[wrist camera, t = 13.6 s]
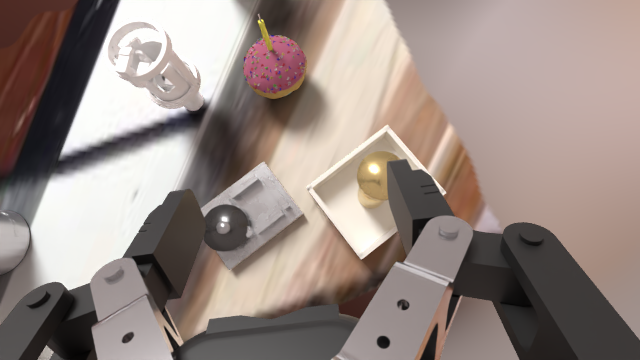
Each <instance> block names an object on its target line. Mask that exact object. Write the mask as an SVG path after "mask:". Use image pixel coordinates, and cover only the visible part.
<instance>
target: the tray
mask: <svg viewBox="0 0 640 360" xmlns="http://www.w3.org/2000/svg"><path fill="white" fill-rule="evenodd" d="M377 151H386V152H390V153H393V154H395V155H396V156H398V157H399V158H400V159H407V161H408V163H409V165H410V167H411V169H412V170H419V169H422V170H423V171H425V172H426V173H428V174H429V175H431V174H430V173H429V172H428V171H427V170H426V169H425V168H424V166H423V165H422V164H421V163H420V162H419V161H418V159H417V158H416V157H415V156H414V155H413V154H412V153H411V151H410V150H409V149H408V148H407V147H406V146H405V145H404V143H403V142H402V141H401V140H400V139H399V138H398V137H397V135H396V134H395V133H394V132H393V131H392V130H391V128H390V127H389V126H388V125H386V126H385V127H383V128H382V129H381V130H380V131H378V132H377V133H376V134H374V135H373V136H372V137H370V138H369V139H368V140H366V141H365V142H364V143H363V144H361V145H360V146H359V147H357V148H356V149H355V150H353V151H352V152H351V153H349V154H348V155H347V156H346V157H344V158H343V159H342V160H340V161H339V162H338V163H336V164H335V165H334V166H332V167H331V168H330V169H329V170H327V171H326V172H325V173H323V174H322V175H321V176H319V177H318V178H317V179H315V180H314V181H313V182H312V183H310V184H309V185H308V186H306V188H307V190H308V191H309V192H310V194H311V195H312V196H313V198H314V199H315V200H316V202H317V203H318V204H319V206H320V207H321V208H322V209H323V211H324V212H325V213H326V215H327V216H328V217H329V219H330V220H331V221H332V222H333V224H334V225H335V226H336V228H337V229H338V230H339V232H340V233H341V234H342V236H343V237H344V238H345V239H346V241H347V242H348V243H349V245H350V246H351V247H352V249H353V250H354V251H355V252H356V254H357V255H358V256H359V258H360V259H361V260H362V259H363V258H364V257H365V256H367V255H368V254H369V253H371V252H372V251H373V250H374V249H376V248H377V247H378V246H379V245H381V244H382V243H383V242H384V241H386V240H387V239H388V238H390V237H391V236H392V235H393V234H395V233H396V232H397V231H398V229H397V226H396V223H395V220H394V218H393V215H392V212H391V209H390V205H389V200H386V201H384V202H383V203H382V204H381V205H380V206H379V207H377V208H373V209H370V208H366V207H364V206H363V205H362V204H361V203H360V202H359V200H358V189H359V186H358V183H357V171H358V167H359V165H360V163H361V161H362V160H363V159H364V158H365V157H366V156H367V155H369V154H371V153H373V152H377ZM432 178H433V177H432ZM433 180H434V182H435V183H436V186H437V187H438V188H439V190H440V193H441V194H442V195H444V194H445V193H446V192H445V190H444V189H443V188H442V187H441V186H440V185H439V184H438V182H437V181H436V180H435V179H434V178H433Z"/></svg>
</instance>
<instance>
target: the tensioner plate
mask: <svg viewBox="0 0 640 360" xmlns="http://www.w3.org/2000/svg"><path fill="white" fill-rule="evenodd" d="M201 211H202V213H203V216H204V218H205V222H206V230H205V234H204V237H203V239H204V241H205V242H206V244H207V245H208V246H209V247H210V248H212V249H214V250H216V251H217V253H218V254H219V256H220V257H221V259H222V260H223V262H224V263H225V265H226V266H227V268H228V269H229V270H231V269H233V268H235V267H236V266H237V265H238V264H240V263H241V262H242V261H244V260H245V259H246V258H248V257H249V256H250V255H251V254H253V253H254V252H255V251H257V250H258V249H259V248H261V247H262V246H263V245H264V244H266V243H267V242H268V241H270V240H271V239H272V238H273V237H275V236H276V235H277V234H279V233H280V232H281V231H283V230H284V229H285V228H286V227H288V226H289V225H290V224H292V223H293V222H294V221H296V220H297V219H298V218H299V217H301V216H302V215H303V213H302V211H301V210H300V209H299V207H298V206H297V205H296V203H295V202H294V201H293V199H292V198H291V197H290V195H289V194H288V193H287V191H286V190H285V189H284V187H283V186H282V185H281V183H280V182H279V181H278V179H277V178H276V177H275V175H274V174H273V173H272V171H271V170H270V169H269V167H268V166H267V165H266V163H265V162H264V161H263V162H262V163H261V164H259V165H258V166H257V167H255V168H254V169H253V170H251V171H250V172H249V173H248V174H246V175H245V176H244V177H242V178H241V179H240V180H238V181H237V182H236V183H234V184H233V185H232V186H230V187H229V188H228V189H226V190H225V191H224V192H222V193H221V194H220V195H218V196H217V197H216V198H214V199H213V200H212V201H210V202H209V203H208V204H206V205H205V206H204V207H202V208H201Z"/></svg>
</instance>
